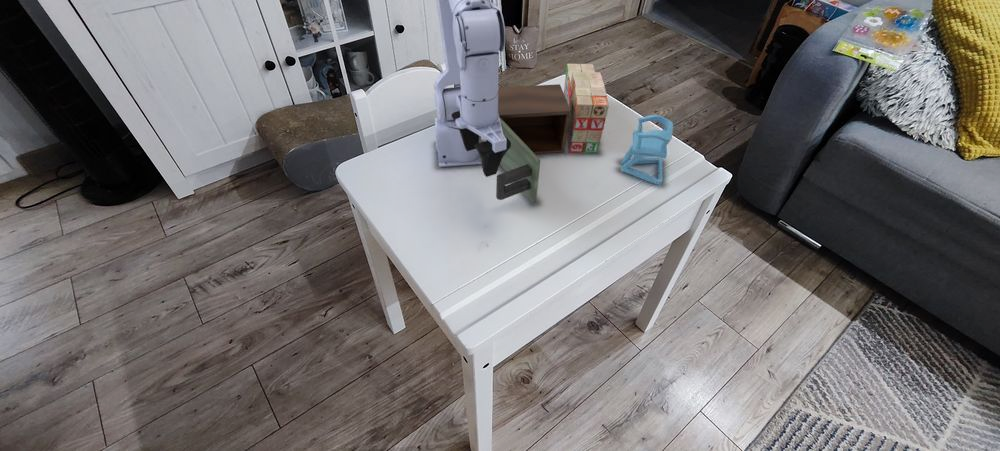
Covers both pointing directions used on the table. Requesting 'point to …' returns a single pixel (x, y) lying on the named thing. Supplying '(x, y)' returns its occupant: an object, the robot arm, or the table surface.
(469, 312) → the table surface
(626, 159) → the chair
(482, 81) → the robot arm
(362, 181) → the table surface
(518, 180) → the cupboard door
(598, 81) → the stack of blocks
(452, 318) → the table surface
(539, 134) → the cupboard
